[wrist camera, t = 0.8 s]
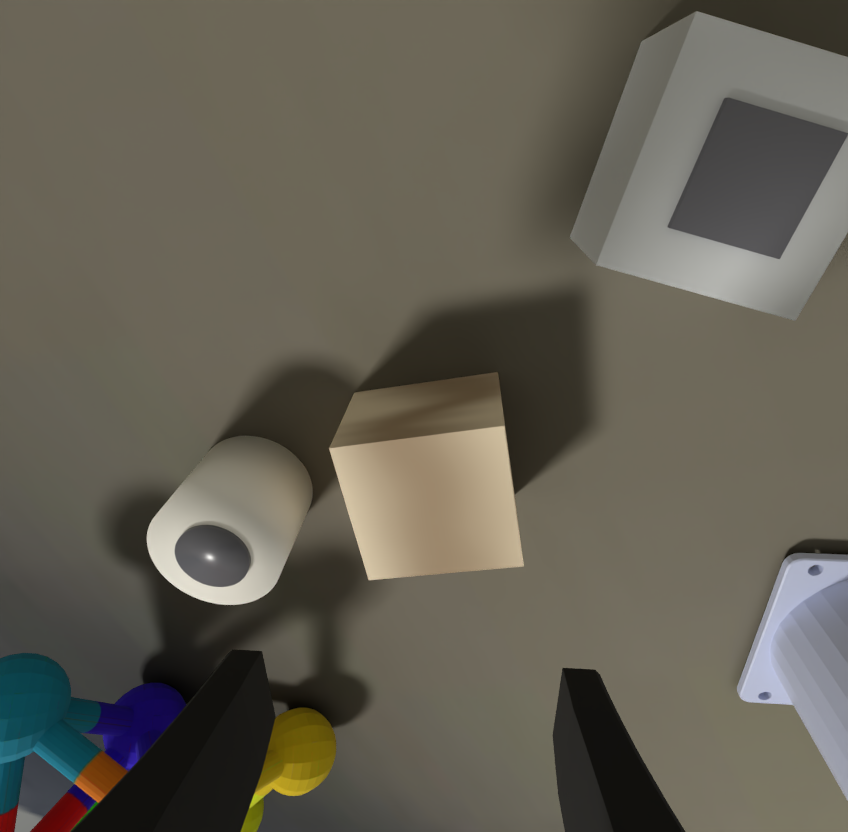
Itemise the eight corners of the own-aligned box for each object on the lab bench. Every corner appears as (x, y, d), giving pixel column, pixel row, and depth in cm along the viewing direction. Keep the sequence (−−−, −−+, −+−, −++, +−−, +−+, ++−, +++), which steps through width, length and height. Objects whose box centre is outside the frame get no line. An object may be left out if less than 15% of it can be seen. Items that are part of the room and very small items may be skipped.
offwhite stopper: (306, 436, 20) (269, 504, 16) (318, 532, 22) (287, 612, 18) (190, 433, 21) (128, 499, 17) (212, 528, 23) (160, 606, 19)
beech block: (497, 370, 19) (504, 425, 15) (514, 492, 21) (523, 566, 17) (354, 390, 19) (329, 448, 16) (385, 506, 21) (368, 580, 18)
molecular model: (344, 598, 28) (-24, 604, 21) (401, 805, 21) (-127, 928, 14) (262, 752, 35) (-39, 799, 27) (284, 948, 28) (-113, 1084, 20)
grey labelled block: (821, 96, 14) (943, 82, 11) (726, 281, 17) (799, 323, 13) (640, 42, 14) (700, 9, 10) (568, 236, 16) (597, 266, 13)
